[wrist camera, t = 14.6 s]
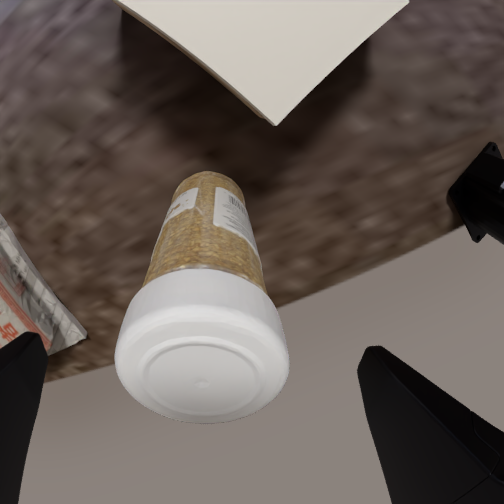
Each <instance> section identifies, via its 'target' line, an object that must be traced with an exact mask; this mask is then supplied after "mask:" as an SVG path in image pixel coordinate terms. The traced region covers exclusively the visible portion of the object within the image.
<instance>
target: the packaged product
mask: <svg viewBox="0 0 504 504" xmlns="http://www.w3.org/2000/svg"><path fill="white" fill-rule="evenodd" d="M26 331H30V332H36V333H38V334H39V335H40V336H41V338H42V341H43V344H44V346H45V349H46V352H47V354H48V356H49V355H51V354H53V353H56V352H58V351H60V350H63V349H65V348H67V347H69V346H71V345H73V344H76V343H77V342H78V341H79V340H82V339H86V335H87V331H86V330H85V329H84V328H83V327H82V326H81V324H80V323H79V322H78V321H77V319H76V318H75V317H74V316H73V315H72V314H71V313H70V312H69V310H68V309H67V308H66V307H65V306H64V305H63V304H62V303H61V302H60V301H59V300H58V299H57V297H56V296H55V294H54V293H53V291H52V290H51V288H50V287H49V286H48V285H47V283H46V282H45V280H44V279H43V278H42V276H41V275H40V273H39V272H38V271H37V269H36V268H35V266H34V265H33V263H32V262H31V260H30V259H29V257H28V256H27V255H26V253H25V252H24V250H23V249H22V247H21V245H20V244H19V242H18V240H17V239H16V237H15V235H14V233H13V232H12V230H11V229H10V227H9V226H8V224H7V222H6V221H5V219H4V218H3V217H2V215H1V214H0V348H2V347H3V346H5V345H6V344H8V343H9V342H11V341H12V340H14V339H15V338H16V337H18V336H19V335H21V334H22V333H24V332H26Z"/></svg>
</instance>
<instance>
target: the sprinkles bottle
mask: <svg viewBox="0 0 504 504" xmlns="http://www.w3.org/2000/svg"><path fill="white" fill-rule="evenodd" d="M171 204H172V205H171V207H170V208H169V210H168V213H167V215H166V218H165V221H164V223H163V226H162V229H161V232H160V234H159V237H158V240H157V242H156V245H155V248H154V251H153V254H152V258H151V264H150V267H149V269H148V272H147V274H146V277H145V281H144V284H143V286H142V289H141V290H140V291H139V292H138V293H137V294H136V295H135V296H134V298H133V299H132V301H131V303H130V305H129V307H128V309H127V312H126V314H125V317H124V320H123V323H122V326H121V329H120V333H119V337H118V340H117V344H116V350H115V366H116V371H117V374H118V377H119V379H120V381H121V383H122V384H123V386H124V388H125V389H126V390H127V391H128V392H129V394H130V395H131V396H132V397H133V398H134V399H135V400H136V401H138V402H139V403H141V404H142V405H143V406H145V407H146V408H148V409H150V410H151V411H153V412H155V413H158V414H160V415H162V416H164V417H167V418H170V419H173V420H177V421H182V422H188V423H200V424H213V423H224V422H230V421H233V420H237V419H241V418H244V417H246V416H249V415H251V414H253V413H255V412H257V411H259V410H260V409H262V408H264V407H265V406H267V405H268V404H269V403H270V402H271V401H272V400H274V399H275V398H276V397H277V395H278V394H279V393H280V392H281V390H282V388H283V387H284V385H285V383H286V380H287V378H288V375H289V368H290V367H289V366H290V361H289V354H288V349H287V344H286V339H285V335H284V331H283V328H282V324H281V320H280V317H279V314H278V312H277V309H276V307H275V306H274V304H273V303H272V301H271V300H270V298H269V297H268V295H267V292H266V289H265V284H264V280H263V276H262V275H263V274H262V266H261V261H260V258H259V254H258V250H257V247H256V243H255V239H254V235H253V232H252V228H251V224H250V220H249V217H248V213H247V211H246V208H245V199H244V196H243V193H242V191H241V189H240V188H239V186H238V185H237V184H236V183H235V182H234V181H233V180H232V179H230V178H229V177H227V176H225V175H223V174H221V173H216V172H211V171H204V172H200V173H196V174H194V175H192V176H190V177H188V178H187V179H185V180H184V181H183V182H182V183H181V184H180V185H179V186H178V188H177V189H176V191H175V193H174V195H173V198H172V202H171Z"/></svg>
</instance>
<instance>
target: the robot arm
mask: <svg viewBox="0 0 504 504" xmlns="http://www.w3.org/2000/svg"><path fill="white" fill-rule="evenodd" d="M492 147H493V148H492ZM455 191H456V193H455ZM449 195H450V197H451V199H452V201H453V202H454V204H455V206H456V208H457V210H458V212H459V214H460V216H461V218H462V220H463V222H464V224H465V226H466V228H467V230H468V232H469V234H470V236H471V238H472V240H473V241H474V242H476V243H478V242H479V241H481V239H482V238H483V237H484V236H485V235H486V234H487V233H488V234H489V235H491V236H492V237H494V238H495V239H496V240H498V241H499V242H500V243H502V244H504V159H502V156H501V154H500V151H499V149H498V147H497V145H496V143H494V142H489V143H488V144H487V145H486V147H485V148H484V149H483V150H482V152H481V153H480V154H479V155H478V156H477V158H476V159H475V160H474V161H473V162H472V164H471V165H470V166H469V167H468V168H467V169H466V171H465V172H464V173H463V174H462V175H461V176H460V178H459V179H458V180H457V181H456V182H455V183H454V184H453V185H452V187H451V188H450V190H449ZM47 364H48V354H47V352H46V349H45V346H44V344H43V341H42V338H41V336H40V335H39V334H38V333H36V332H30V331H26V332H24V333H22V334H21V335H19V336H18V337H16V338H15V339H14V340H12V341H11V342H9V343H8V344H6V345H5V346H3V347H2V348H0V504H18V501H19V494H20V488H21V482H22V476H23V471H24V466H25V461H26V456H27V452H28V447H29V443H30V439H31V435H32V431H33V427H34V423H35V419H36V416H37V412H38V408H39V403H40V398H41V393H42V388H43V383H44V378H45V373H46V369H47ZM357 373H358V379H359V384H360V388H361V393H362V398H363V403H364V408H365V413H366V417H367V421H368V424H369V427H370V431H371V434H372V437H373V440H374V444H375V447H376V450H377V453H378V457H379V460H380V463H381V467H382V470H383V473H384V477H385V480H386V484H387V488H388V491H389V495H390V498H391V502H392V504H504V432H503V431H501V430H499V429H498V428H496V427H494V426H493V425H491V424H490V423H488V422H487V421H485V420H484V419H483V418H481V417H480V416H478V415H477V414H476V413H474V412H472V411H470V409H468V408H467V407H466V406H464V405H463V404H461V403H460V402H459V401H457V400H456V399H454V398H453V397H452V396H450V395H449V394H448V393H446V392H445V391H443V390H442V389H440V388H439V387H438V386H437V385H435V384H434V383H432V382H431V381H430V380H428V379H427V378H425V377H424V376H423V375H421V374H420V373H418V372H417V371H416V370H414V369H413V368H411V367H410V366H409V365H407V364H406V363H405V362H403V361H402V360H400V359H399V358H398V357H396V356H395V355H393V354H392V353H390V352H389V351H388V350H386V349H385V348H383V347H382V346H369V347H367V348H366V350H365V352H364V354H363V356H362V359H361V361H360V363H359V365H358V369H357Z"/></svg>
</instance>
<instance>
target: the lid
mask: <svg viewBox="0 0 504 504" xmlns="http://www.w3.org/2000/svg"><path fill="white" fill-rule="evenodd" d="M114 1H116V2H117V3H119V4H120V5H122V6H123V7H125V8H126V9H128V10H129V11H131V12H132V13H134V14H135V15H137V16H138V17H140V18H141V19H143V20H144V21H146V22H147V23H148V24H150V25H151V26H153V27H154V28H155V29H157V30H158V31H160V32H161V33H162V34H164V35H165V36H166V37H168V38H169V39H170V40H172V41H173V42H175V43H176V44H177V45H178V46H180V47H181V48H182V49H184V50H185V51H186V52H188V53H189V54H190V55H191V56H193V57H194V58H195V59H196V60H198V61H199V62H200V63H201V64H203V65H204V66H205V67H206V68H208V69H209V70H210V71H211V72H213V73H214V74H215V75H216V76H217V77H219V78H220V79H221V80H222V81H223V82H225V83H226V84H227V85H228V86H229V87H230V88H232V89H233V90H234V91H235V92H236V93H237V94H238V95H240V96H241V97H242V98H243V99H244V100H245V101H246V102H248V103H249V104H250V105H251V106H252V107H253V108H254V109H255V110H256V111H258V112H259V113H260V114H261V115H262V116H263V117H264V118H265V119H266V120H267V121H268V122H269V123H271V124H272V125H273V126H277V125H278V124H279V123H280V122H281V121H282V120H283V119H284V118H285V117H286V116H287V115H288V114H289V113H290V111H291V110H292V109H293V108H294V107H295V106H296V105H297V104H298V103H299V102H300V101H301V100H302V99H303V98H304V97H305V96H306V95H307V94H308V93H309V92H310V91H312V90H313V89H314V88H315V87H316V86H317V85H318V84H319V83H320V82H321V81H322V80H323V79H324V78H325V77H326V76H327V75H328V74H329V73H330V72H331V71H332V70H333V69H334V68H335V67H336V66H338V65H339V64H340V63H341V62H342V61H343V60H344V59H345V58H346V57H347V56H348V55H349V54H350V53H351V52H353V51H354V50H355V49H356V48H357V47H358V46H359V45H360V44H361V43H362V42H364V41H365V40H366V39H367V38H368V37H369V36H370V35H371V34H373V33H374V32H375V31H376V30H377V29H378V28H379V27H381V26H382V25H383V24H384V23H385V22H386V21H388V20H389V19H390V18H391V17H392V16H393V15H395V14H396V13H397V12H398V11H399V10H401V9H402V8H403V7H404V6H405V5H407V4H408V3H409V1H408V0H114Z"/></svg>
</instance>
